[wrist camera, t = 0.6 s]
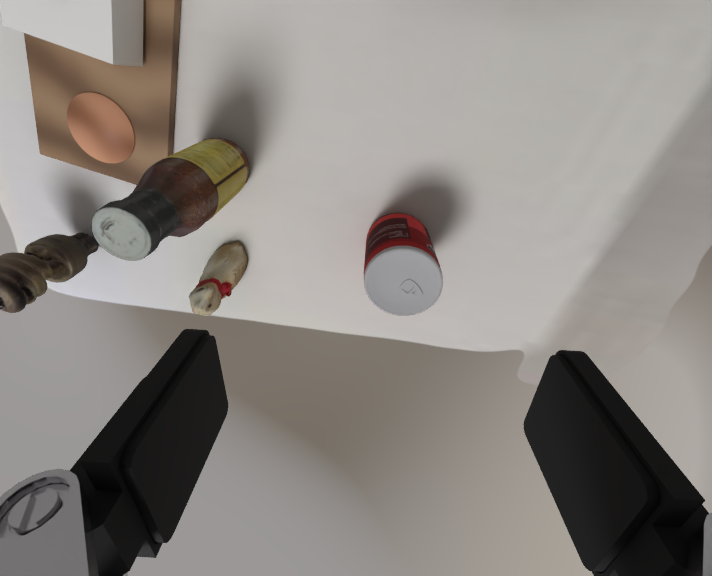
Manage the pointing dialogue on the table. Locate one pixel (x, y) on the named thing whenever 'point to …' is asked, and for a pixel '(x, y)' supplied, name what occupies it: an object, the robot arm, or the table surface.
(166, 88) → the board
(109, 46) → the block
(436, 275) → the canned food
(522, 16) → the table surface
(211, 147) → the sauce bottle
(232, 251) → the beige rounded lump
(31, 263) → the light bulb
